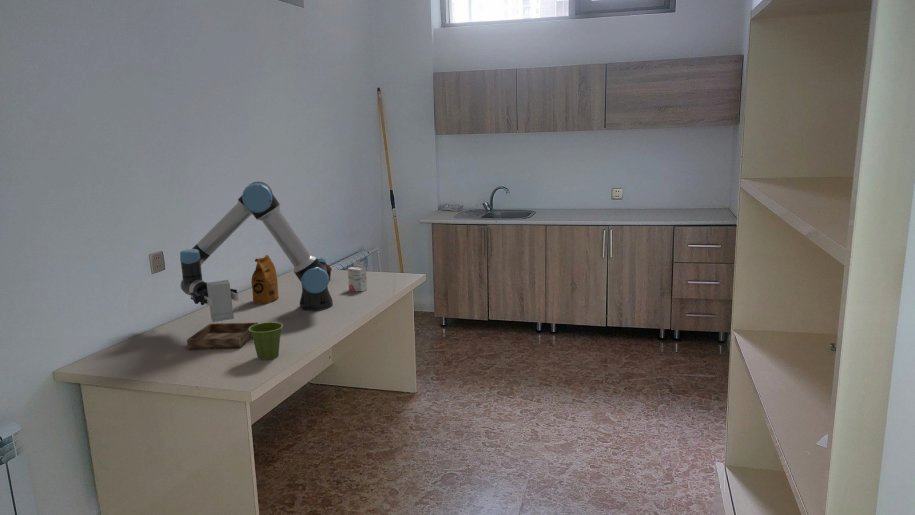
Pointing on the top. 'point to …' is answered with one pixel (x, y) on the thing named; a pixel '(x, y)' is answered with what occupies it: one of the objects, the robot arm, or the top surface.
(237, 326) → the walnut tray
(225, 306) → the skincare box
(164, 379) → the top surface
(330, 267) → the muffin
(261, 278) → the coffee package
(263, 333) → the plant pot
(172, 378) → the top surface
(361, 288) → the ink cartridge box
